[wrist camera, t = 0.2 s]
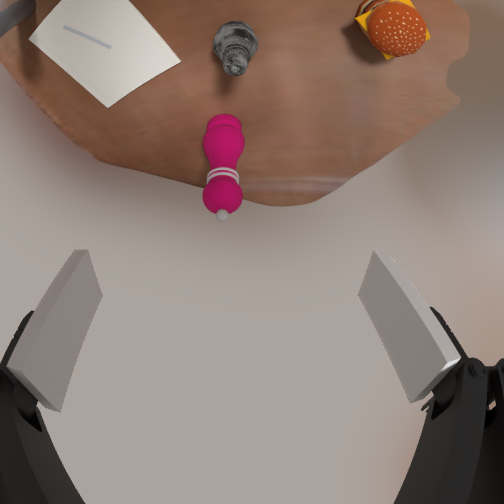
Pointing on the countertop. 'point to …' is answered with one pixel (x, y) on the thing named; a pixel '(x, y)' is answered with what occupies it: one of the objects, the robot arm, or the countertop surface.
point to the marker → (15, 14)
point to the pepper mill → (223, 165)
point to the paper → (104, 46)
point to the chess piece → (235, 46)
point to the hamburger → (392, 26)
